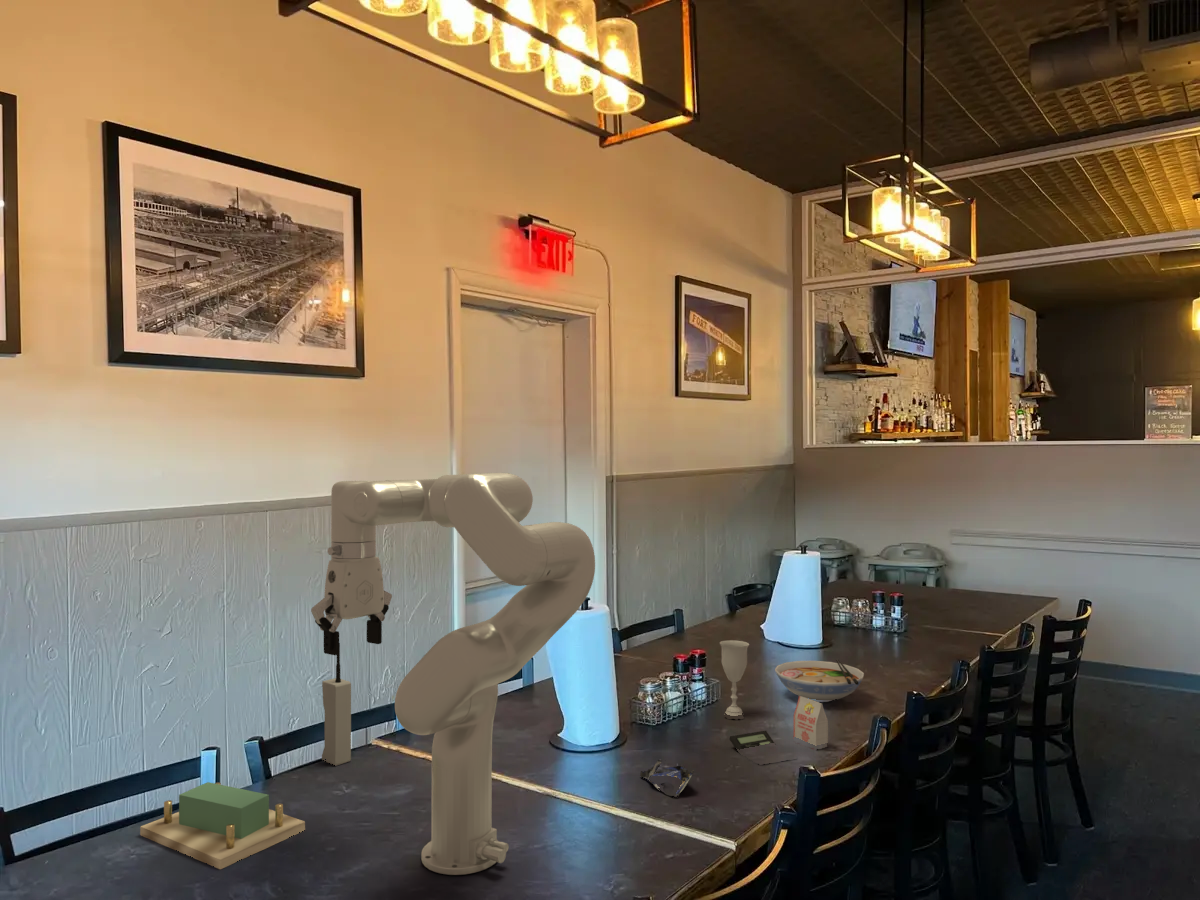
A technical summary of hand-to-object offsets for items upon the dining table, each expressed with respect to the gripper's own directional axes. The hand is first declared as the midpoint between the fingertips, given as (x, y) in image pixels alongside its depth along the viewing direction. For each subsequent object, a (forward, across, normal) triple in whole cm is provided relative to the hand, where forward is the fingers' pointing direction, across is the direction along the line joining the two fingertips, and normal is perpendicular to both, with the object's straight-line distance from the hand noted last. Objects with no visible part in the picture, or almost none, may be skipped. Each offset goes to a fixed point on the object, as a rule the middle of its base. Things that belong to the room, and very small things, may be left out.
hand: (353, 648), depth 149 cm
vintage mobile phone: (+31, +18, +25) cm, 43 cm away
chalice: (+31, +90, -34) cm, 101 cm away
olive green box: (+29, -15, +15) cm, 36 cm away
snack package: (+31, +44, -39) cm, 66 cm away
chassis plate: (+30, -15, +15) cm, 37 cm away
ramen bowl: (+31, +116, -47) cm, 129 cm away
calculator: (+31, +70, -49) cm, 91 cm away
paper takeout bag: (+31, +81, -56) cm, 103 cm away
